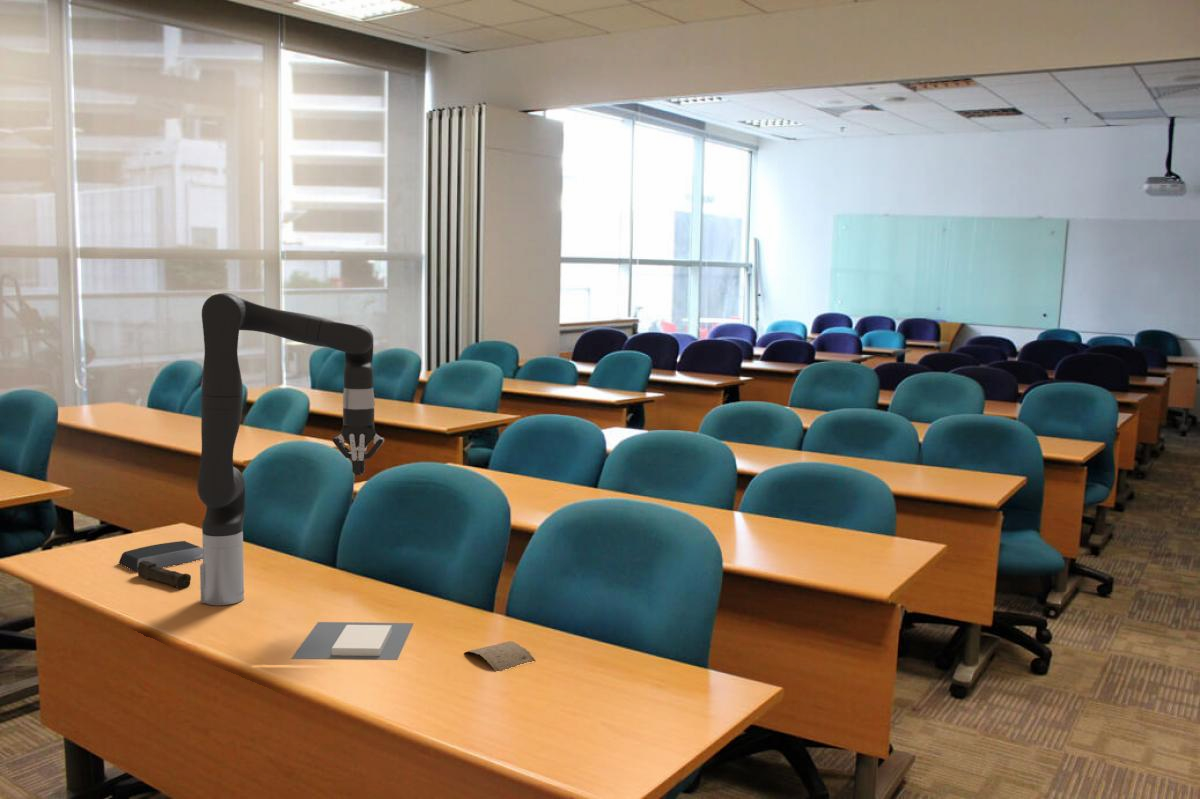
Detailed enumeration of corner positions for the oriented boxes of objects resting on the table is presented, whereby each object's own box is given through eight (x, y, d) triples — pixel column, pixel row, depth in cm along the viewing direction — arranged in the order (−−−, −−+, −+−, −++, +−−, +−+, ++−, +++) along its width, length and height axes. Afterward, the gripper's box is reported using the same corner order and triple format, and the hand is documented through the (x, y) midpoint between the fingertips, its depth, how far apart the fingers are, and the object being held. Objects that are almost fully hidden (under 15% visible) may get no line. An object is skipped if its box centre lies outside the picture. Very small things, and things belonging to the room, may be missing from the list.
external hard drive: (208, 560, 270) (207, 546, 270) (138, 575, 255) (138, 560, 255) (185, 551, 278) (185, 537, 278) (117, 565, 264) (116, 550, 263)
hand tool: (192, 587, 246) (191, 569, 245) (177, 591, 242) (177, 573, 242) (148, 574, 256) (147, 557, 255) (134, 577, 252) (133, 560, 252)
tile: (346, 631, 215) (331, 655, 201) (346, 624, 215) (331, 648, 201) (391, 632, 215) (379, 656, 202) (391, 625, 215) (379, 648, 201)
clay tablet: (537, 665, 202) (538, 653, 201) (498, 677, 195) (498, 664, 195) (498, 645, 212) (498, 633, 212) (460, 655, 206) (460, 643, 206)
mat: (290, 660, 199) (290, 658, 199) (318, 624, 221) (318, 621, 221) (397, 662, 200) (397, 659, 200) (413, 625, 222) (413, 623, 222)
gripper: (327, 407, 232) (328, 477, 234) (382, 408, 233) (382, 478, 235) (335, 403, 240) (335, 471, 242) (388, 404, 240) (388, 472, 242)
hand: (358, 474), depth 238 cm, fingers closed
